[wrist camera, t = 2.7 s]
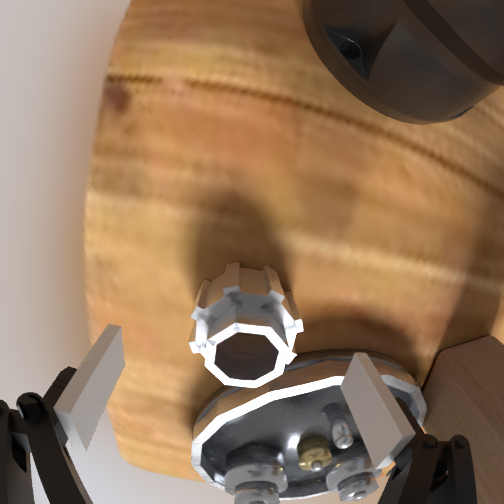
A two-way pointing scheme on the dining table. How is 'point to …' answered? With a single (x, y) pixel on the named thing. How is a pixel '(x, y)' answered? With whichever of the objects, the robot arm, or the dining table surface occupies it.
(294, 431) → the carrier
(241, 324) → the gear
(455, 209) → the dining table surface
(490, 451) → the wooden block
